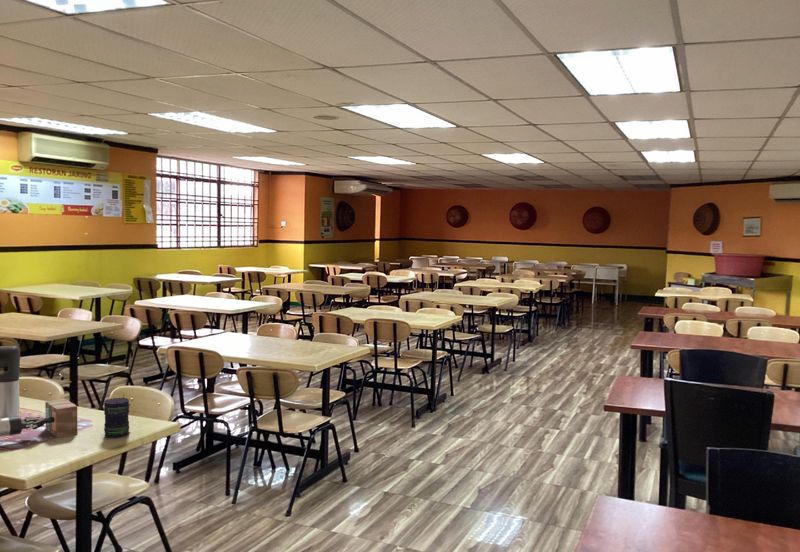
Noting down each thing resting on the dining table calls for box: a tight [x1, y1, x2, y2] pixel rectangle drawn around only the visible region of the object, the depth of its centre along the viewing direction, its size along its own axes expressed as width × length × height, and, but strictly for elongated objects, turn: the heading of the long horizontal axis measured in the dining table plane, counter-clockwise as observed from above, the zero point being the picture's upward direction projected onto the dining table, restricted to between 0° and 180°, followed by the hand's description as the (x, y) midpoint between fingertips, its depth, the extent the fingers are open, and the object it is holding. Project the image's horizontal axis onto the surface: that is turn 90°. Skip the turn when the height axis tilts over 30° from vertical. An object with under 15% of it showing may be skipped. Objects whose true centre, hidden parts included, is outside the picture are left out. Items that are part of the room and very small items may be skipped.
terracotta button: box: [52, 412, 56, 431], centre depth 275 cm, size 5×6×7 cm
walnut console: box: [44, 398, 79, 438], centre depth 279 cm, size 17×8×12 cm, turn 43°
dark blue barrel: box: [103, 397, 130, 440], centre depth 275 cm, size 10×10×15 cm
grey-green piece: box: [45, 407, 50, 426], centre depth 281 cm, size 5×6×7 cm
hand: (53, 419), depth 273 cm, fingers closed
